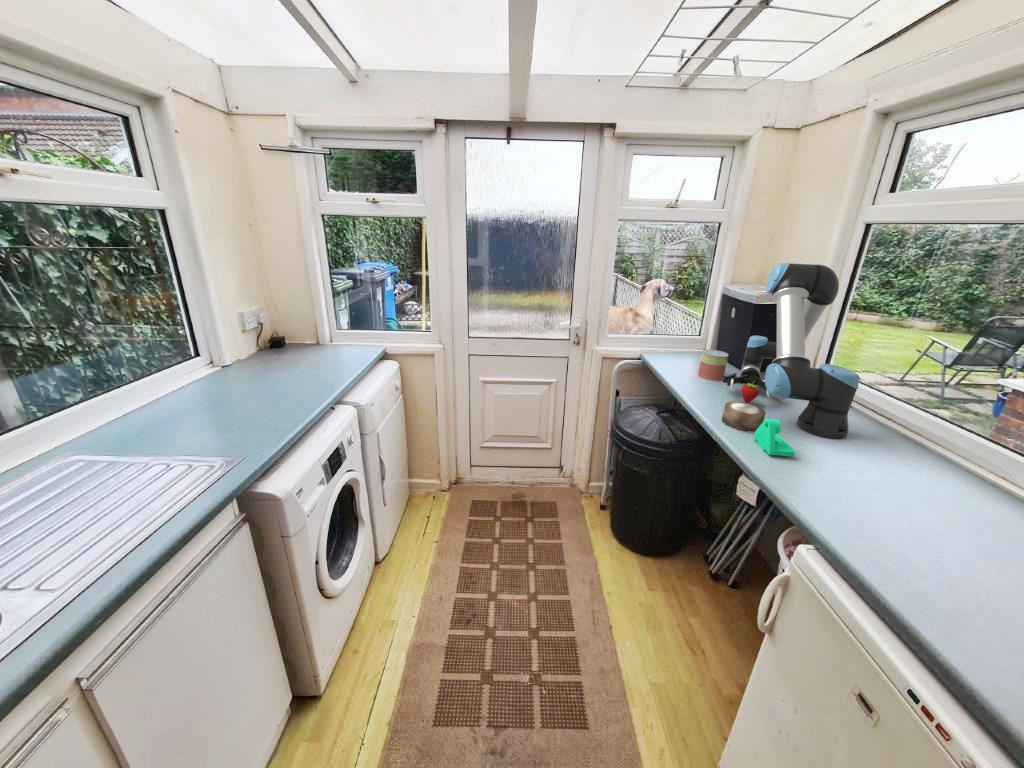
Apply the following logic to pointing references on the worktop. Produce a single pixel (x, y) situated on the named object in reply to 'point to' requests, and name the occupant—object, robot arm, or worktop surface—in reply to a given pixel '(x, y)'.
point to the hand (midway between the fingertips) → (749, 390)
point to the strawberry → (749, 392)
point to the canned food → (713, 365)
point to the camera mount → (772, 439)
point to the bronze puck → (743, 416)
